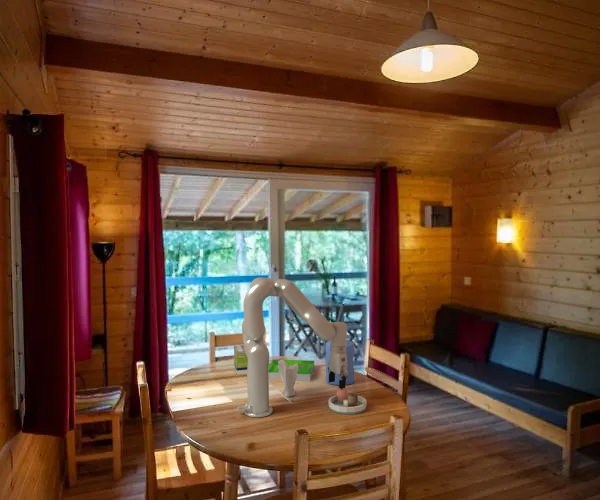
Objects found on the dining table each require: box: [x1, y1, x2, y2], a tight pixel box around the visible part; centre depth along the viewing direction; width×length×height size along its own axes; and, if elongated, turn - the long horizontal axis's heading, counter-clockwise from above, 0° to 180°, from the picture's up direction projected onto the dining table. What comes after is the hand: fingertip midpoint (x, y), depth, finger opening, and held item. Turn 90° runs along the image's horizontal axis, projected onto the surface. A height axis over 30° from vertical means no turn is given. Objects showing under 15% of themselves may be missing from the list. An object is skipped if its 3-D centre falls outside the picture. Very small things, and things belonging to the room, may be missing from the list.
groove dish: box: [327, 393, 368, 416], centre depth 208 cm, size 17×17×3 cm
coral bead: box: [336, 387, 348, 404], centre depth 212 cm, size 4×4×6 cm
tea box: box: [233, 344, 248, 374], centre depth 263 cm, size 15×10×15 cm, turn 14°
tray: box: [269, 359, 315, 382], centre depth 260 cm, size 25×25×5 cm
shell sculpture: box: [278, 359, 298, 398], centre depth 224 cm, size 8×8×18 cm
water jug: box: [324, 338, 355, 386], centre depth 245 cm, size 16×16×28 cm
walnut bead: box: [347, 393, 359, 407], centre depth 204 cm, size 4×4×6 cm
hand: (336, 384), depth 213 cm, fingers open, 9 cm apart
